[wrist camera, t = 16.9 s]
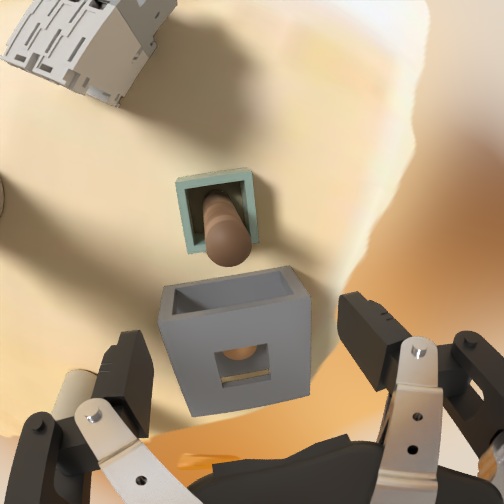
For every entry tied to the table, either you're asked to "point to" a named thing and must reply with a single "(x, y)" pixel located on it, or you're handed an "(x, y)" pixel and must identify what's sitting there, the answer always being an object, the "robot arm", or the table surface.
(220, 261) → the brown rounded rod
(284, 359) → the gray open box frame
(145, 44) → the circuit breaker
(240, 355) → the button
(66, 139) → the table surface
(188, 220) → the holder
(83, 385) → the travel mug
